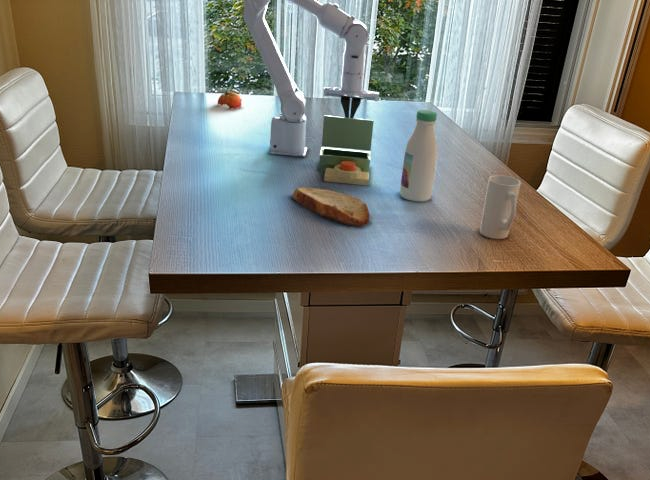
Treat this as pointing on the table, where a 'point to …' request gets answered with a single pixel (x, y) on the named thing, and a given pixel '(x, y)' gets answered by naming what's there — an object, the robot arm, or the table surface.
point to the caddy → (343, 158)
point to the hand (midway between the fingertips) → (348, 126)
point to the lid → (347, 133)
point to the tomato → (230, 100)
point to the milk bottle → (420, 159)
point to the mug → (499, 206)
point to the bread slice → (333, 205)
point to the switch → (347, 166)
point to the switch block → (346, 176)
